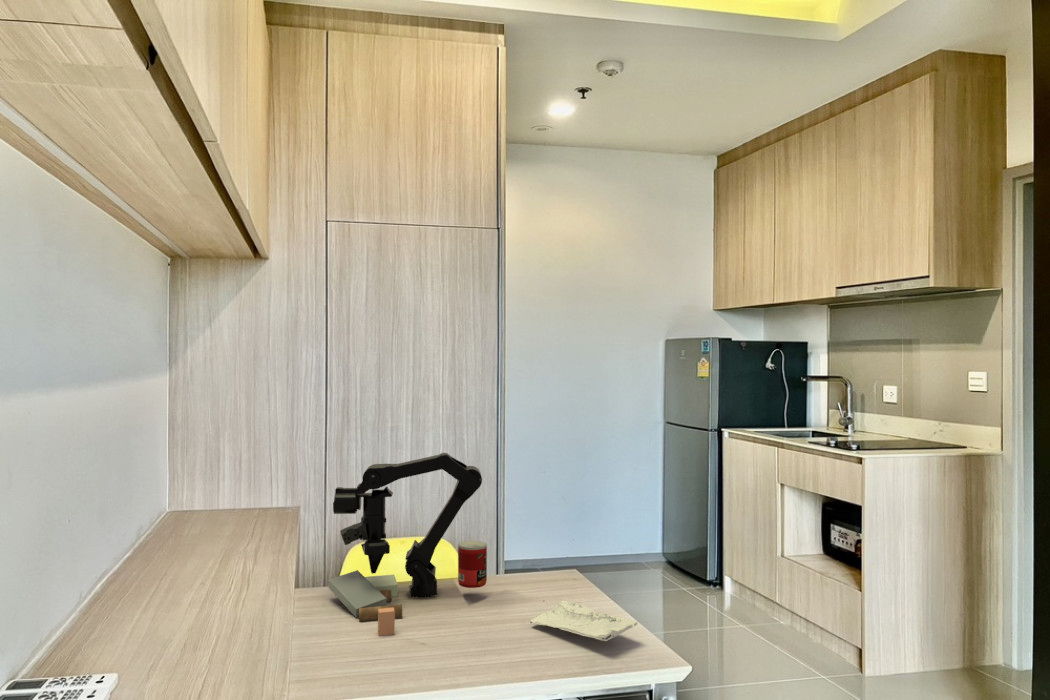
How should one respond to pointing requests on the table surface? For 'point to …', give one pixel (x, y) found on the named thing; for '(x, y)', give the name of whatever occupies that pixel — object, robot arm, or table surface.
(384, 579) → the block
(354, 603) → the slab
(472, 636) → the table surface
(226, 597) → the table surface
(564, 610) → the terrain model
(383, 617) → the orange upright block
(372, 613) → the roller
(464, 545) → the canned food
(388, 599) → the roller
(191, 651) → the table surface
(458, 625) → the table surface
